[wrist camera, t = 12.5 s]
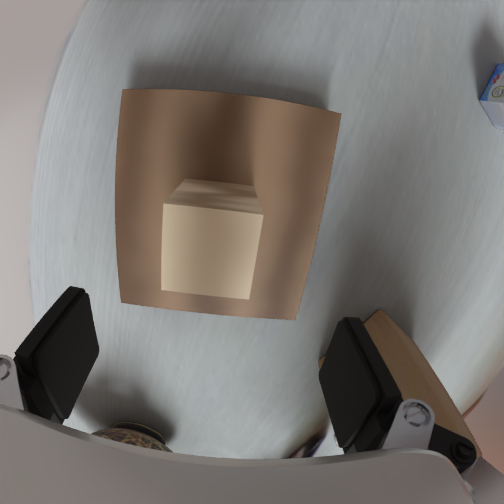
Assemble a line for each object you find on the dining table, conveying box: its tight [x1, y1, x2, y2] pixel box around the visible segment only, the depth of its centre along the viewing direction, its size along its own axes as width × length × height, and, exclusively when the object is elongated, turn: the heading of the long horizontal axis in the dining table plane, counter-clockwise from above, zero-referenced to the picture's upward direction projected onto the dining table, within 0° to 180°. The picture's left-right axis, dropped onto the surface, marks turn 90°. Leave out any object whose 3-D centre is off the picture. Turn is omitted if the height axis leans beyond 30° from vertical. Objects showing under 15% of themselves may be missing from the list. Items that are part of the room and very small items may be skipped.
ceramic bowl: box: [92, 422, 173, 453], centre depth 33 cm, size 24×18×15 cm
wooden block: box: [318, 310, 482, 458], centre depth 24 cm, size 10×10×20 cm
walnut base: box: [115, 89, 341, 320], centre depth 23 cm, size 16×18×3 cm
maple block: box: [161, 178, 264, 300], centre depth 18 cm, size 5×5×7 cm
